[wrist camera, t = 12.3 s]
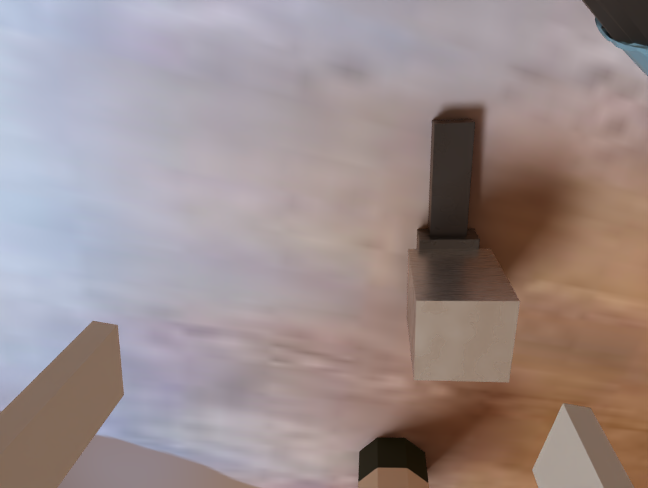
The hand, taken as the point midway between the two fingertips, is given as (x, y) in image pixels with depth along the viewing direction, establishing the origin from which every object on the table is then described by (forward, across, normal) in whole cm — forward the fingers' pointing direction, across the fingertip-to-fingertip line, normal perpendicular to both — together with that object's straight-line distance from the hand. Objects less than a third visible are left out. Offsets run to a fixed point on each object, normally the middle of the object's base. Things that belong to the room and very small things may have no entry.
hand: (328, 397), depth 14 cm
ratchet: (+30, +8, -5) cm, 32 cm away
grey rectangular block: (+28, +9, -10) cm, 31 cm away
